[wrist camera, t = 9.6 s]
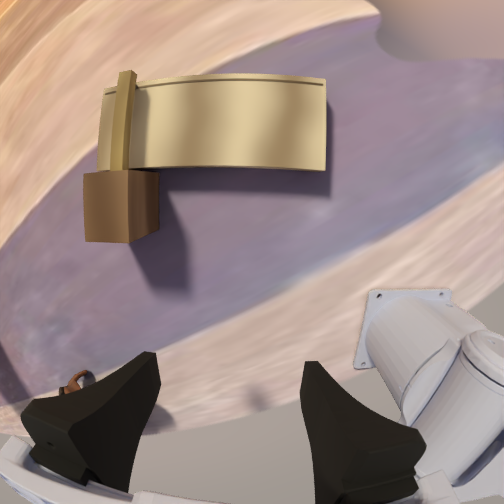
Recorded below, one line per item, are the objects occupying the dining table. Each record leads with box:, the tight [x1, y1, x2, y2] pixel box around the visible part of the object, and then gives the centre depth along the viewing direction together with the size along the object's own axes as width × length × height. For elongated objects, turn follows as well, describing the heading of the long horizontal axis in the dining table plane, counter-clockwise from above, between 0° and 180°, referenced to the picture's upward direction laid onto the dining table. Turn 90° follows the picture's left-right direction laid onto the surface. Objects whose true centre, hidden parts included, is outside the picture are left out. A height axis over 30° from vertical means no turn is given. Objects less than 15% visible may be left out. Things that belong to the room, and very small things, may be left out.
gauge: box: [83, 70, 159, 243], centre depth 17 cm, size 4×12×6 cm, turn 178°
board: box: [97, 74, 326, 172], centre depth 18 cm, size 17×7×2 cm, turn 88°
